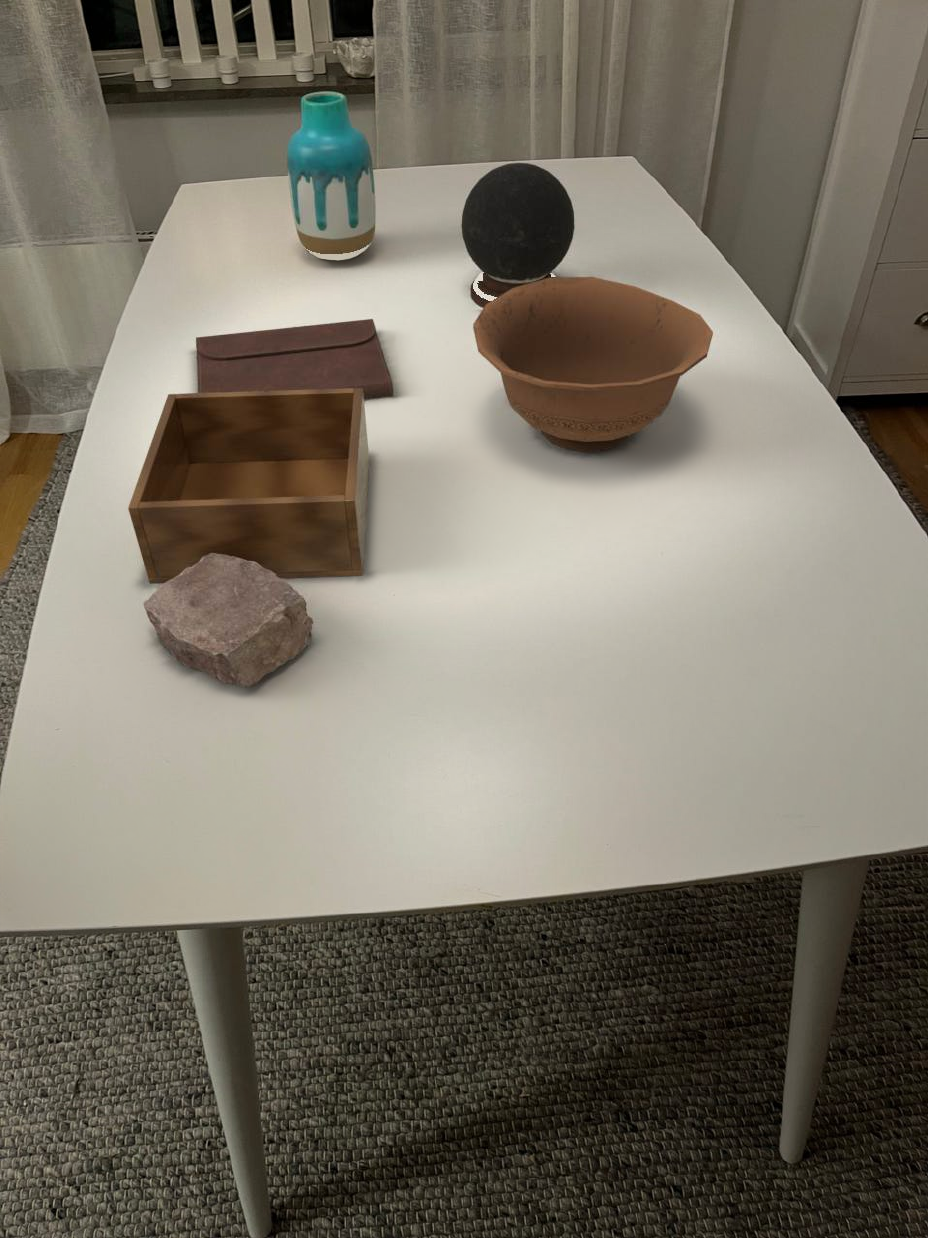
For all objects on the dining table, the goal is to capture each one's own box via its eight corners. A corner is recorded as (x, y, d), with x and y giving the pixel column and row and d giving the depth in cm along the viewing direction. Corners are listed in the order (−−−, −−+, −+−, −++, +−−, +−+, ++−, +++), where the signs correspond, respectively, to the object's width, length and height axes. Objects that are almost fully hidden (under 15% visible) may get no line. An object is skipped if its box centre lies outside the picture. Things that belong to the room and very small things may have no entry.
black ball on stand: (451, 277, 128) (448, 152, 118) (552, 266, 130) (558, 142, 120) (476, 323, 118) (476, 191, 108) (584, 310, 120) (594, 179, 110)
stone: (135, 635, 79) (121, 588, 76) (226, 579, 84) (216, 533, 81) (234, 706, 73) (223, 658, 70) (325, 641, 78) (319, 594, 75)
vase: (291, 246, 136) (271, 89, 123) (368, 235, 138) (357, 81, 125) (306, 277, 128) (286, 114, 115) (387, 266, 131) (377, 104, 118)
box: (149, 583, 84) (127, 508, 79) (184, 464, 97) (168, 393, 92) (362, 575, 84) (354, 500, 79) (369, 458, 97) (362, 387, 92)
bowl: (640, 360, 111) (651, 262, 104) (737, 467, 95) (758, 361, 88) (447, 392, 106) (444, 292, 99) (515, 510, 91) (518, 401, 83)
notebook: (393, 397, 106) (392, 379, 104) (201, 419, 103) (197, 402, 102) (373, 332, 117) (372, 316, 115) (199, 351, 114) (195, 334, 113)
